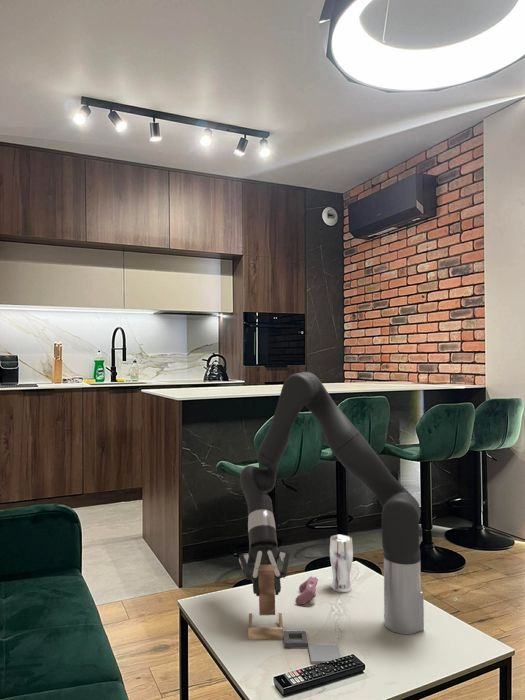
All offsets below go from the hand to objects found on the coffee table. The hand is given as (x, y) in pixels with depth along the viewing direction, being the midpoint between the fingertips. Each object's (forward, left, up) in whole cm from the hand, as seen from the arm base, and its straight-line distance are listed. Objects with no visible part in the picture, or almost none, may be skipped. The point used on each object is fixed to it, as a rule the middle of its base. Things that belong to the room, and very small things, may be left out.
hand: (267, 594), depth 129 cm
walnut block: (0, -2, -5) cm, 5 cm away
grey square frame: (-7, +4, -10) cm, 13 cm away
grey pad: (-13, +10, -10) cm, 19 cm away
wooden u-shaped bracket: (0, -2, -10) cm, 10 cm away
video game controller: (-12, -20, -10) cm, 25 cm away
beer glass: (-23, -27, -10) cm, 37 cm away
